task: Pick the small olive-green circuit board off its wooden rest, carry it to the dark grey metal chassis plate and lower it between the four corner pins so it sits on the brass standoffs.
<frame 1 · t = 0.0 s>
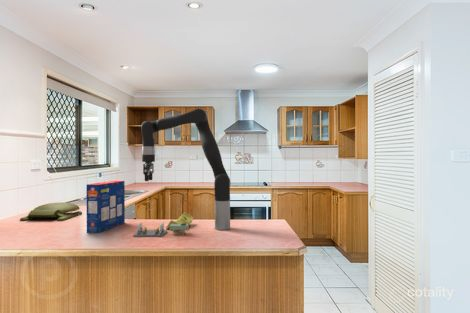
hand: (148, 180, 198), 29 cm above the countertop, tool pointing down, fingers open, 8 cm apart
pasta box: (106, 227, 202), on the countertop
plastic component: (181, 227, 203), on the countertop
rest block: (179, 233, 185), on the countertop
chassis: (150, 234, 184), on the countertop
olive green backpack: (55, 217, 239), on the countertop
board: (179, 228, 185), point 3 cm above the countertop, touching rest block
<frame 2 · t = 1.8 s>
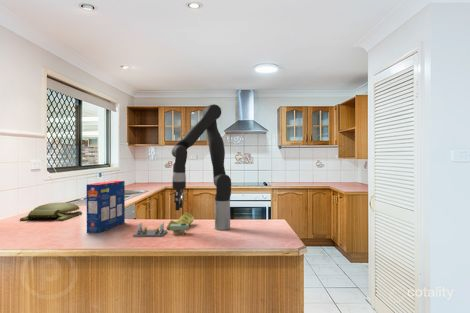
hand: (178, 208, 185), 14 cm above the countertop, tool pointing down, fingers open, 8 cm apart
nothing on the countertop moved.
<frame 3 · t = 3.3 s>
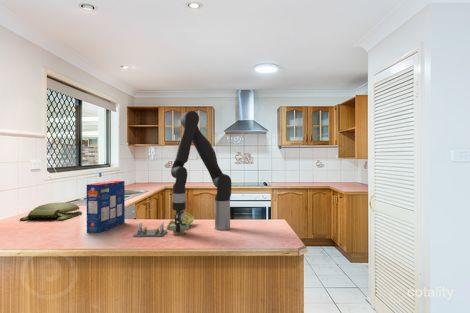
hand: (179, 230, 185), 2 cm above the countertop, tool pointing down, fingers closed on board, 6 cm apart
board: (179, 228, 185), point 3 cm above the countertop, touching gripper, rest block
everything else where it was.
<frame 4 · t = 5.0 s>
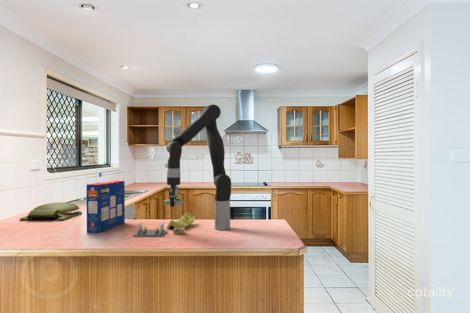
hand: (173, 205, 185), 16 cm above the countertop, tool pointing down, fingers closed on board, 6 cm apart
board: (173, 203, 185), point 17 cm above the countertop, touching gripper
everything else where it was.
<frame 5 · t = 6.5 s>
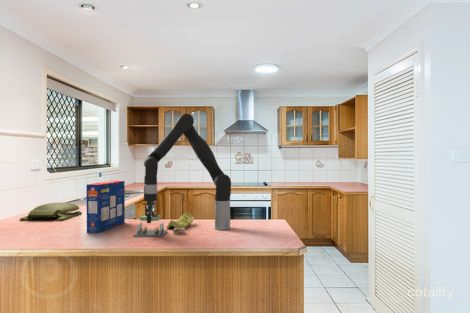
hand: (150, 221, 184), 7 cm above the countertop, tool pointing down, fingers closed on board, 6 cm apart
board: (150, 219, 184), point 8 cm above the countertop, touching gripper
everything else where it was.
when the fingers open (3 cm above the countertop, at t = 7.8 s): board stays where it is, resting on chassis.
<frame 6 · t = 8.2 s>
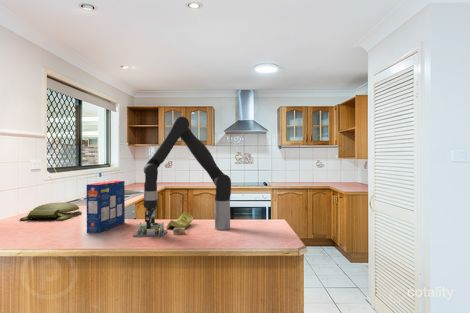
hand: (150, 227, 184), 4 cm above the countertop, tool pointing down, fingers open, 8 cm apart
board: (150, 228, 184), point 3 cm above the countertop, touching chassis
everything else where it was.
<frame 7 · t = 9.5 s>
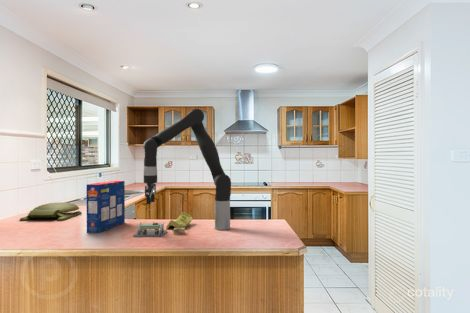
hand: (150, 203, 184), 18 cm above the countertop, tool pointing down, fingers open, 8 cm apart
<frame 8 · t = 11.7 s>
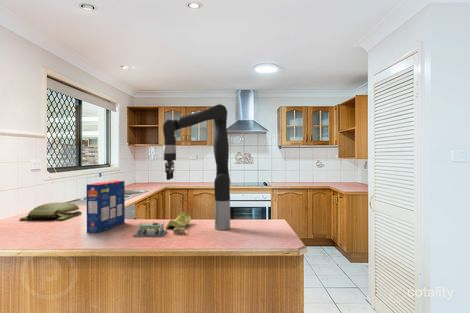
hand: (169, 179, 198), 30 cm above the countertop, tool pointing down, fingers open, 8 cm apart
at the end: board 0.1 cm off-centre on the chassis, point 3.5 cm above the chassis's base; board tilted 0°; the gripper is holding nothing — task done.
